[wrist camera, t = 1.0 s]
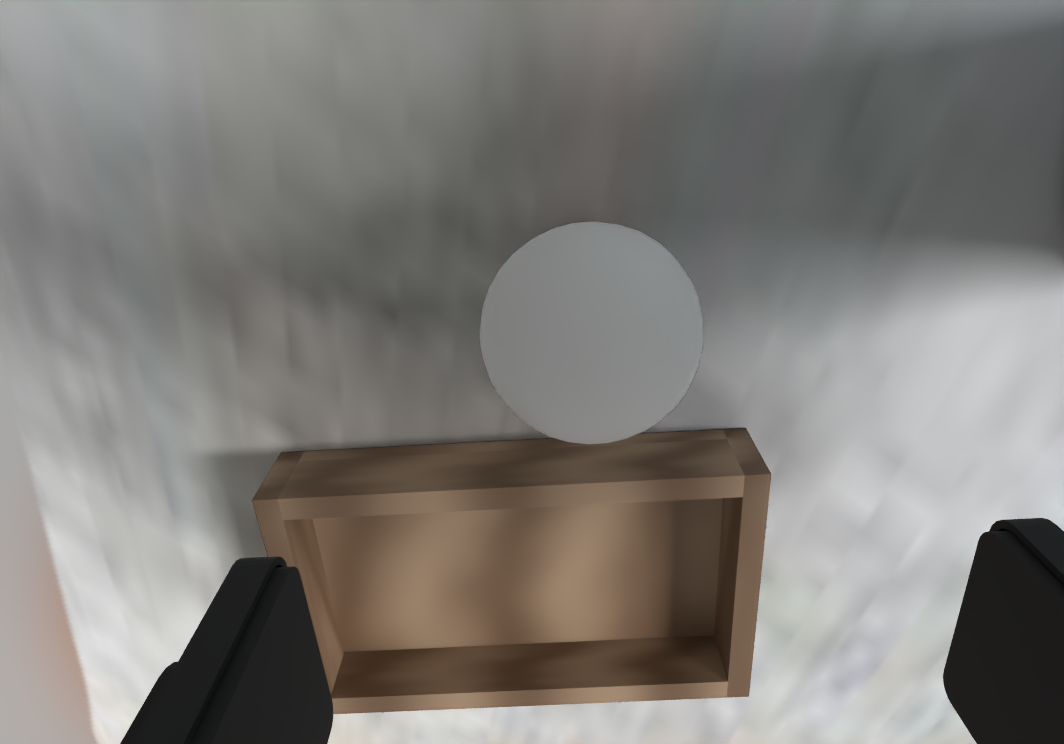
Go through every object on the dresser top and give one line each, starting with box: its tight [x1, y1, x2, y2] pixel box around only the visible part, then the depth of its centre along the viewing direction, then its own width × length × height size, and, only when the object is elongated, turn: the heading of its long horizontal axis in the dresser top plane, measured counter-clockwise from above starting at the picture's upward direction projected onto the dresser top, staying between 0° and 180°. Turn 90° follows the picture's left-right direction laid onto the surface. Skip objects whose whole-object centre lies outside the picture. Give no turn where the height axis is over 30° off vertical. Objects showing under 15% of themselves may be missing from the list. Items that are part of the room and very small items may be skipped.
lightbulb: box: [479, 221, 703, 444], centre depth 22 cm, size 6×6×11 cm
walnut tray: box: [252, 428, 771, 714], centre depth 31 cm, size 20×12×4 cm, turn 94°
